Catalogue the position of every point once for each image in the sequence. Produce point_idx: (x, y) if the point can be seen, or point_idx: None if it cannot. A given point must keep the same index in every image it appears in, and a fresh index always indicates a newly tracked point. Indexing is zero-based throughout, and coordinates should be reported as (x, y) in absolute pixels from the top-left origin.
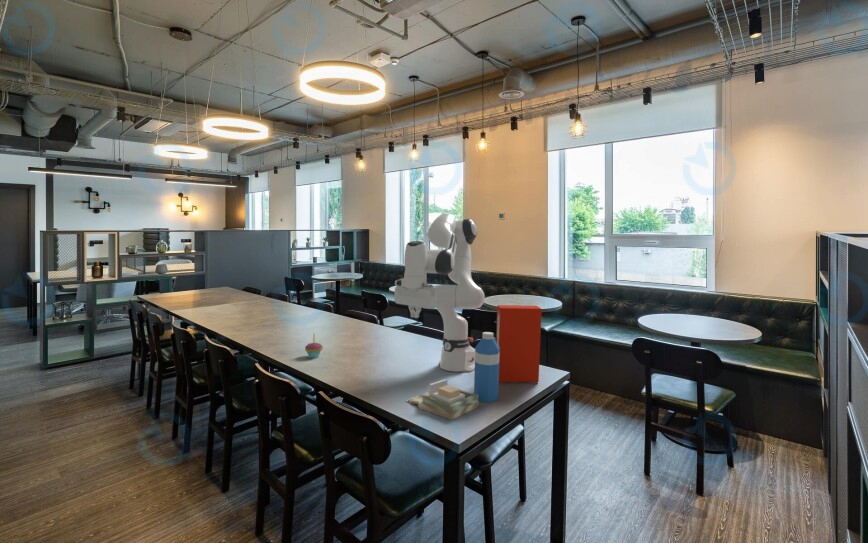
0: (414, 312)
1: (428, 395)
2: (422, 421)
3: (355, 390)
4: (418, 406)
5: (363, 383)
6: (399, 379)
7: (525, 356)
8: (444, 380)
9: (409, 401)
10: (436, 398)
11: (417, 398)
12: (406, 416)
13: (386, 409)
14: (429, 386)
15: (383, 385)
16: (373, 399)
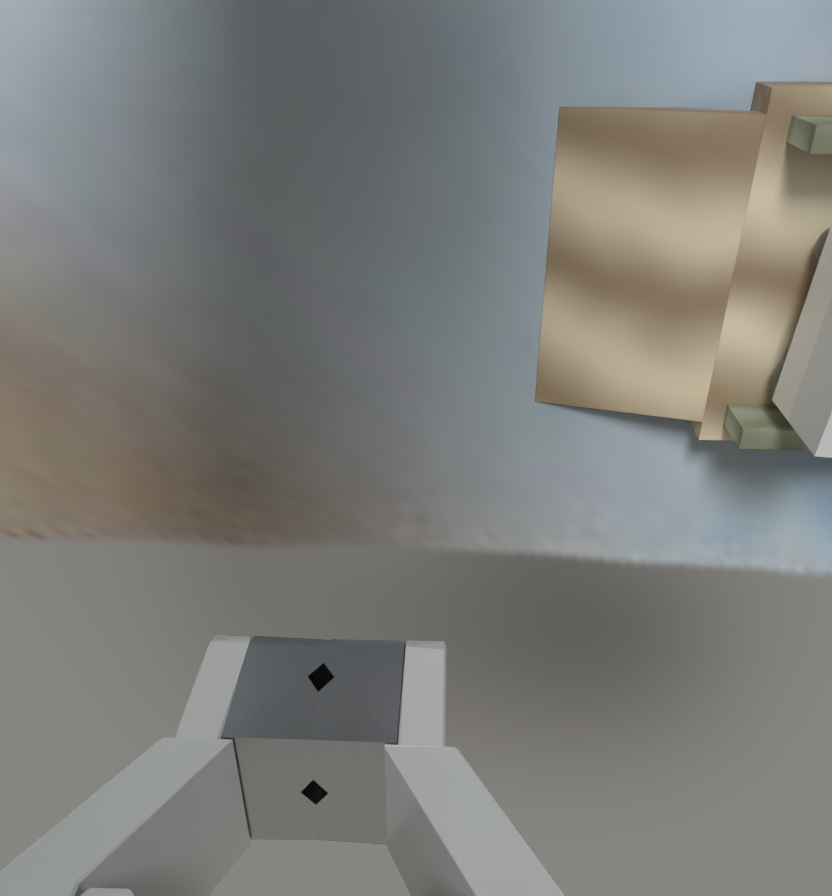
0: (240, 759)
1: (658, 258)
2: (824, 535)
3: (146, 491)
4: (693, 426)
5: (45, 373)
6: (128, 82)
7: None
8: None
9: (587, 406)
10: None
11: (608, 342)
12: (703, 545)
13: (540, 553)
14: (808, 446)
15: (178, 298)
16: (361, 510)
